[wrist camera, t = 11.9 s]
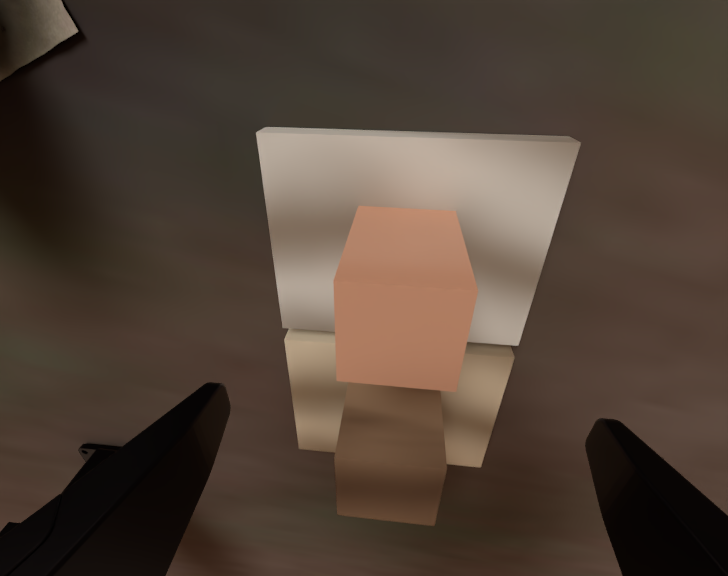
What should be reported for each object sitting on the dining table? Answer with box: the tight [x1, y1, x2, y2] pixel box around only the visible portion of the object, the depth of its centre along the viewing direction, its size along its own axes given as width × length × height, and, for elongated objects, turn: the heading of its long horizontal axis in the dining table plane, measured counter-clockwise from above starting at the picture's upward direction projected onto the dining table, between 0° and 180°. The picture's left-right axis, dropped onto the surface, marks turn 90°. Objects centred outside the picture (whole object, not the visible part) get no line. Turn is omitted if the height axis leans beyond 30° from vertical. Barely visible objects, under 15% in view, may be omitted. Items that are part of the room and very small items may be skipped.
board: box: [256, 127, 581, 468], centre depth 20 cm, size 20×12×1 cm, turn 179°
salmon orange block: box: [333, 206, 478, 392], centre depth 14 cm, size 4×4×6 cm
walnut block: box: [334, 382, 447, 526], centre depth 20 cm, size 5×5×5 cm
